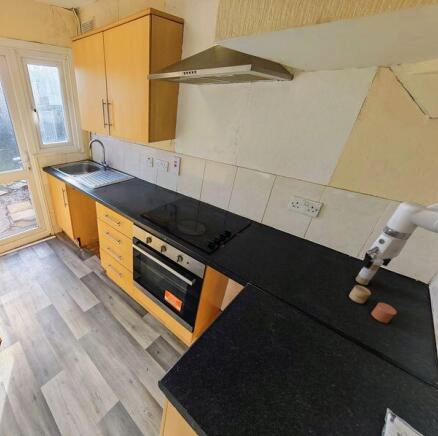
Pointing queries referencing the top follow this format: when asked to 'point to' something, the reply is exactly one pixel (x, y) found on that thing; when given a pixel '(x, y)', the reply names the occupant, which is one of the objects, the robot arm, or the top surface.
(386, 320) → the orange-brown short cylinder
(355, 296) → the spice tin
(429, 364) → the top surface
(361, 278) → the sprinkles bottle
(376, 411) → the top surface
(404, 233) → the robot arm
